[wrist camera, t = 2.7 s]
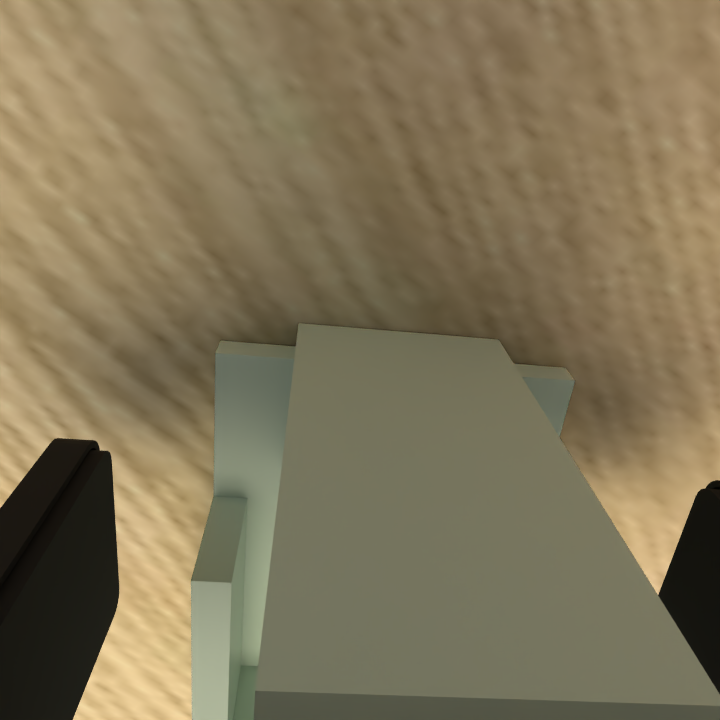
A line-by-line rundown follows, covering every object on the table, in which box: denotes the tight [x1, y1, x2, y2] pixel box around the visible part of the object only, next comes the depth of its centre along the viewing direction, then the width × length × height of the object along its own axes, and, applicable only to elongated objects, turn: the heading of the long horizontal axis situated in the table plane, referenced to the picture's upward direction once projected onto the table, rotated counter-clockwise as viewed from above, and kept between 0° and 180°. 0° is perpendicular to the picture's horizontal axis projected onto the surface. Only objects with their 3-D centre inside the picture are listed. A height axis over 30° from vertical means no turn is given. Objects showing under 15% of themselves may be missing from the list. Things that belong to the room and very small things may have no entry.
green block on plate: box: [191, 323, 720, 720], centre depth 11 cm, size 10×7×8 cm
